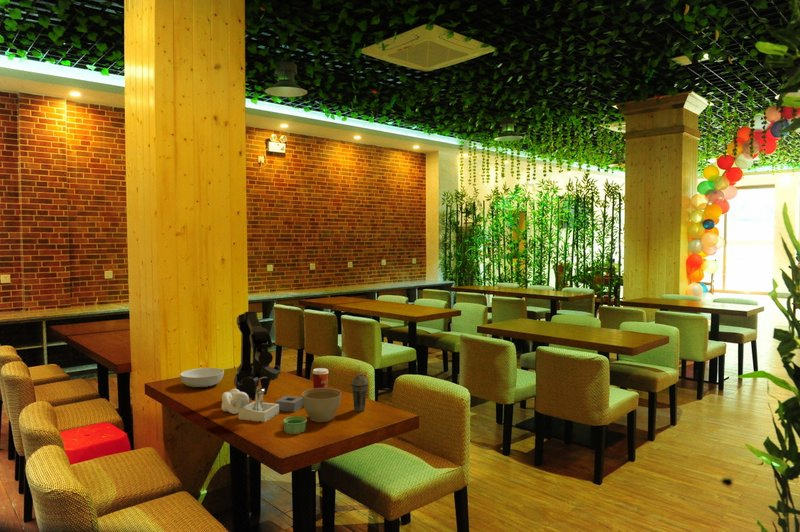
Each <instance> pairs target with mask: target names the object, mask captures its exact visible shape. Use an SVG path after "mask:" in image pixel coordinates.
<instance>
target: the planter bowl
mask: <svg viewBox="0 0 800 532" xmlns="http://www.w3.org/2000/svg"><path fill="white" fill-rule="evenodd" d="M301 397H302V398H303V408H304V411H305V412H306V414H307V416H308V417H309V420H310V421H312V422H314V423H326V422H330V421H332V420H333V419H334V416H335V414H336V413H337V411H338V409H339V407H340V404H341V397H342V392H341V391H340V390H338V389H335V388H328V387H327V388H315V389H314V388H311V389H307V390H305V391H303V392H302V393H301Z"/></svg>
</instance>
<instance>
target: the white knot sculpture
mask: <svg viewBox="0 0 800 532" xmlns="http://www.w3.org/2000/svg"><path fill="white" fill-rule="evenodd" d="M221 401H222V402H221V410H222V411H223V412H228V413H229V414H232V415H237V414H239V409H241V408H243V407H245V406H246V405H248V404H250V399H249V397H248V395H247V394H246V393H244V392H240V391H239V390H238V389H237V388H232V389H230V390H228V391H225V392H223V393H222V395H221Z"/></svg>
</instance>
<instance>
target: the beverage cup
mask: <svg viewBox="0 0 800 532" xmlns="http://www.w3.org/2000/svg"><path fill="white" fill-rule="evenodd" d="M357 367H358V368H357V369H358V374H357V375H355V376H354V377H353V379H352V381H351V389H352V398H353V399H352V402H353V410H354V412H356V411H359V412H358V413H361V412H360V411H363V412H365V408H366V401H367V400H366V398H367V389H368V387H369V386H368V385H369V382H368V380H367V378H366V376H365V375H362V374H360V373H361V371H360V365H358V366H357Z"/></svg>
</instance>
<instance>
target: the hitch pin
mask: <svg viewBox="0 0 800 532" xmlns="http://www.w3.org/2000/svg"><path fill="white" fill-rule="evenodd" d="M264 392H265V388H262V387H257V388H256V397H255V402H256V411H263V403H264V394H263V393H264Z"/></svg>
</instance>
